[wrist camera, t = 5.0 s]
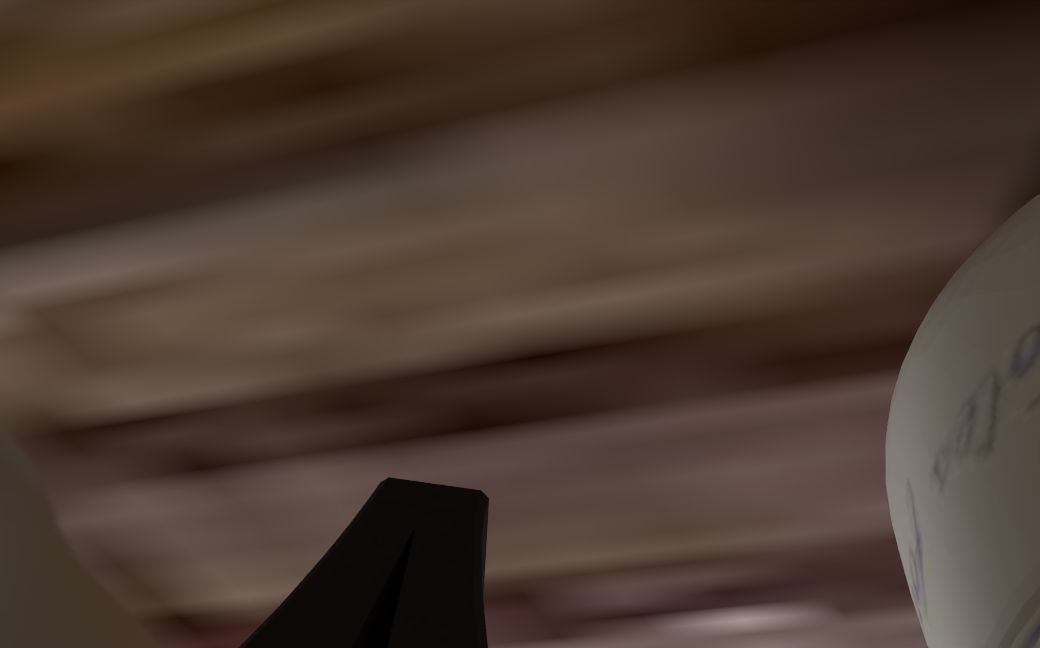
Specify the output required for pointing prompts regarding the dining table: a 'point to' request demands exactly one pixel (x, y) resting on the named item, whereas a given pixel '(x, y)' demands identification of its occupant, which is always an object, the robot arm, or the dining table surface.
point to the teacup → (974, 449)
